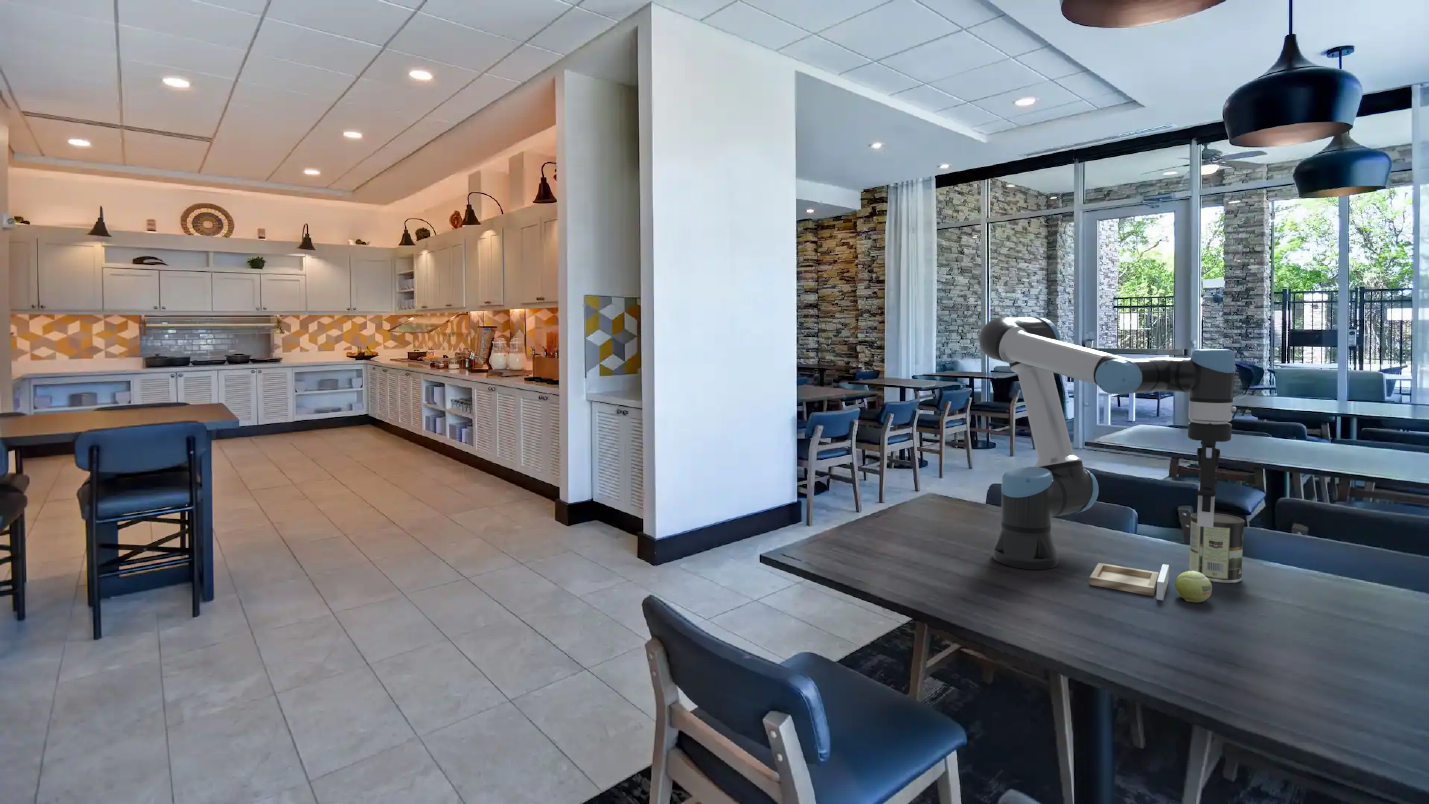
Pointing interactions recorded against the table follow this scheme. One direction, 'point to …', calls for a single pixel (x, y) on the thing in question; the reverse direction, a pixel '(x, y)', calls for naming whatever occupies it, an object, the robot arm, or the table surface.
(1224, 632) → the table surface
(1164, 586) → the panel
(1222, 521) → the coffee can
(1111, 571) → the tray
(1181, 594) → the tennis ball
